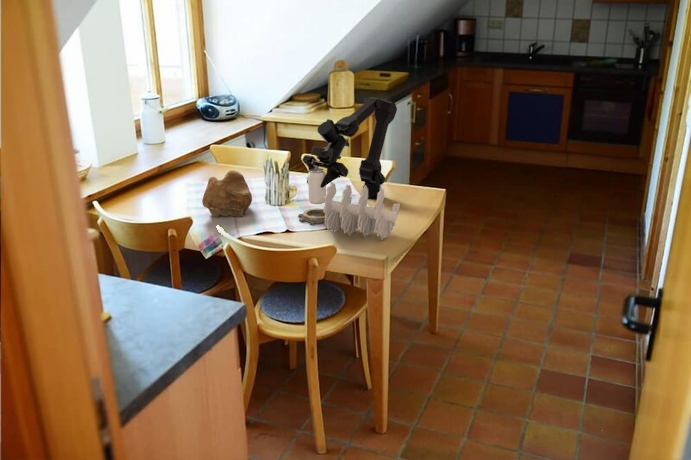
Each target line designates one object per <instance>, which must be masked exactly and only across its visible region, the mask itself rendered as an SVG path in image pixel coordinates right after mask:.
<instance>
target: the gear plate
mask: <svg viewBox="0 0 691 460" xmlns="http://www.w3.org/2000/svg"><path fill="white" fill-rule="evenodd" d="M323 210H324V208H319V207H318V208H310V209H306V210H304V211H303V213H299V214H298V218H299V220H298V222H300V223H307V224H309V225H310V226H311V225H312V226H315V225H320V224H321V225H323V224H324V225H326V224H325V213H324V212H323Z"/></svg>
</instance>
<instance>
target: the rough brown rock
mask: <svg viewBox="0 0 691 460" xmlns="http://www.w3.org/2000/svg"><path fill="white" fill-rule="evenodd" d="M252 202H253V196H252V193H251V191H250V188H249V185H248V183H247V181H246V180H245V178H244V175H243V174H242V173H241V172H239V171H237V170H228V172H227V173H226V174H225V175H224V178H222V179H219V180H218V178H217V177H215V176H210V177H209V178H208V181H207V185H206V188H205V191H204V192H203V196H202V206H203V207H204V208H207V209H208V211H209V213H210V215H211V216H212V217H214V218H217V217H220V216H223V217H225V216H227V217H228V216H233V217H235V218H242V217H243V216H244V215H245V214H246V213H247V211H248V209H249V208H250V206H251V204H252Z"/></svg>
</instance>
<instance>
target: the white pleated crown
mask: <svg viewBox="0 0 691 460" xmlns="http://www.w3.org/2000/svg"><path fill="white" fill-rule="evenodd" d="M329 184H330V185H327V186H326V196H325V198H324V200H325V203H324V208H323V209H324V210H323V212H324V213H325V224H324V225H326V228H327V231H329V230H330V231H331V233H332V234H334V233H335V231H340V228H341V229H342V230H343V234H347V235H348V236H350V237H351V235H352V234H353V233H355V232H357V230H358V229H359V233H362V234H363V237H364V238H366V237H367V236H372V235H371V234H372V233H374V232H376V237H379V238H380V240H381V241H384V239H386V238H388V236H389V235H390V234H391V233H392V231H393V229H394V227H395V226H396V222H397V219H398V216H399V214H400V209H401V208H400V206H401V203H393V204H392V207H391V209H390V210H389V209H384V204H385V203H384V200H385V190H384V189H383V187H381V188H380V192H378V194H377V199H376V201H375V203H374V206H375V207H372V206H368V205H367V204H368V200H369V198H368V188H367V187H366V185H364V184H363V186H364V189H363V188H361V189H360V196H359V197H358V204H355V203H352V199H353V197H352V194H353V192H352V187H351V186H352V185H351V184H346V185H345V188H344V189H343V190H342V198H341V200H340V201H337V200H333V199H334V197H335V195H336V194H337V188H336V187H337V186H336V182H335V183H334V182H333V181H332V182H330V183H329Z"/></svg>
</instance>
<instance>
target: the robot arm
mask: <svg viewBox="0 0 691 460" xmlns="http://www.w3.org/2000/svg"><path fill="white" fill-rule="evenodd" d="M397 111H398V107H397V105H396V103H395V102H394V101H393V102H392V101H386V100H383V99H380V98H378V97H372V96H371V97H368V98H367V99H366V102H364V103H363V104H362V105H360V107H358V108H357V109H356V110H355V111H354V112H353V113H351V114H350V115H347V116H344V117H342V118H341V119H339V120H337V121H336V123H334V121H333V120H332V119H329V118H328V119H326V121H323V122H322V123H321V124H319V125H318V127H317V133H318V134H319V135H320V136H321V137H322V139H323V140H324V141H325V142H326V143H328V144H327V146H323V147H318V146H315V145H314V146H312V149H311V154H310V155H309V154H306V155H304V156H303V158H302V159H301V161H302V162H303V163H304V164H305V165H306V166H307V167H308V170H307V174H308V173H309V170H310V169H314V168H322V169H326V173H325V174H326V175H325V177H324V179H323V181H322V183H321V187H322V188H323V187H324V186H326V187H327V186H328V184H331V182H333V181H335V180H337V179H338V178H341V177H344V178H347V176H348V175H349V169H348V168H347V167H346V165H345V164H344V163H342V162H339V161H338V160H341V158H342V157H341V154H342V152H343V150H344V148H345V147H350V142H349V139H348V138H352V137H354V136H355V135H356V134H357V133H358V131H359V129H360V126H361V124H362V123H363V122H364V121H365V120H367V119H369V117H370V116H371V115H372V114H374V118H375V125H374V129H373V130H374V131H373V133H372V138H371V142H370V146H369V150H368V152H367V153H368V154H367V157H366V158H364V159H362V160H360V165H359V168H358V170H359V171H358V172H359V173H358V174H359V178H360V181H361V183H362V182H364V184H363V185H362V189H364V185H366V187H367V188H368V200H369V199H371V200H377V194H378V192H380V188H382V185H383V184H385V182H386V177H385V175H384V174H383V173H382V165H381V160H380V159H381V157H382V156H381V155H382V152H383V147H384V144H385V140H386V136H387V135H386V134H387V133H388V127H389V125H390V124H391V123H392V122H393V121H394V119H395V116H396V114H397ZM346 137H348V138H346ZM314 156H315V157H316V158H315V157H314ZM306 178H307V179H306V184H308V177H306Z"/></svg>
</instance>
